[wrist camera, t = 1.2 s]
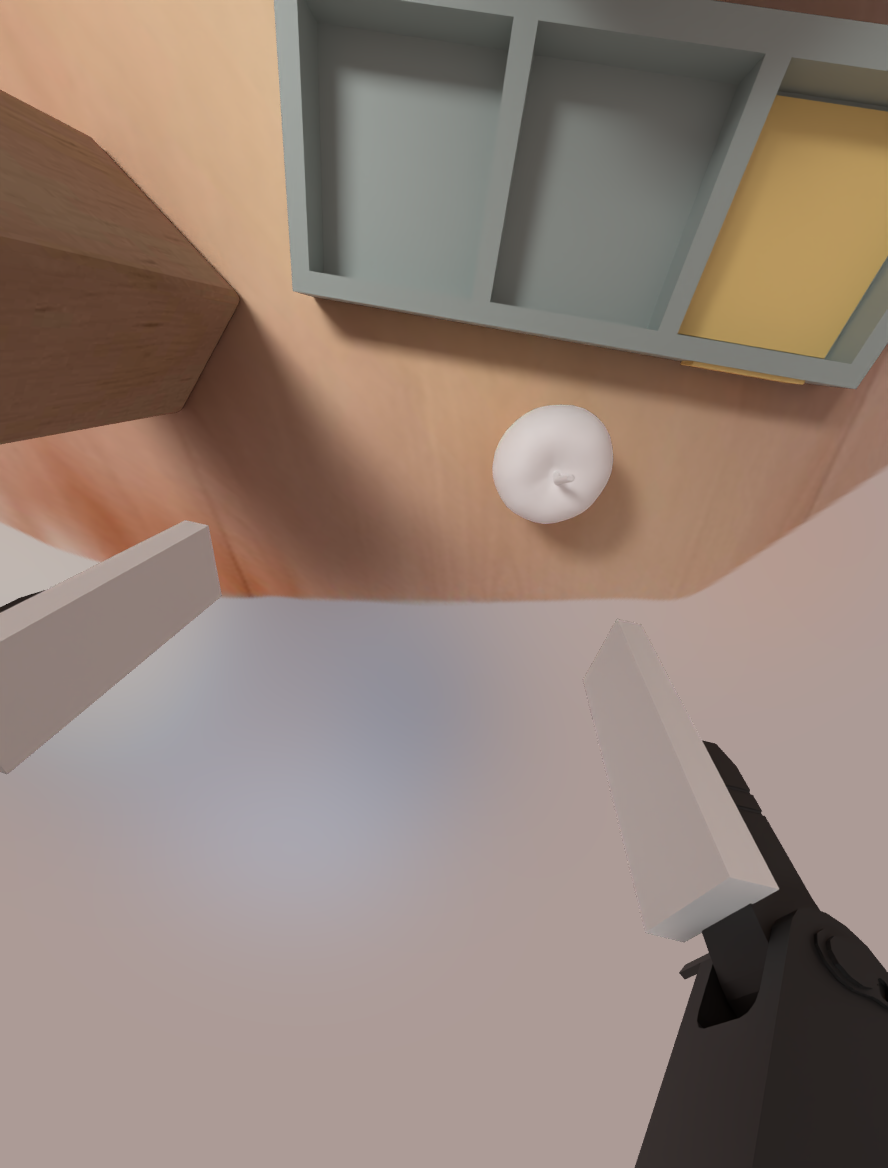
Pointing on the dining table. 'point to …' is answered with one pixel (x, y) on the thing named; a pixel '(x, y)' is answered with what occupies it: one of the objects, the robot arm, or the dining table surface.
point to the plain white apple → (553, 463)
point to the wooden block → (92, 288)
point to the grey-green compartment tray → (597, 174)
